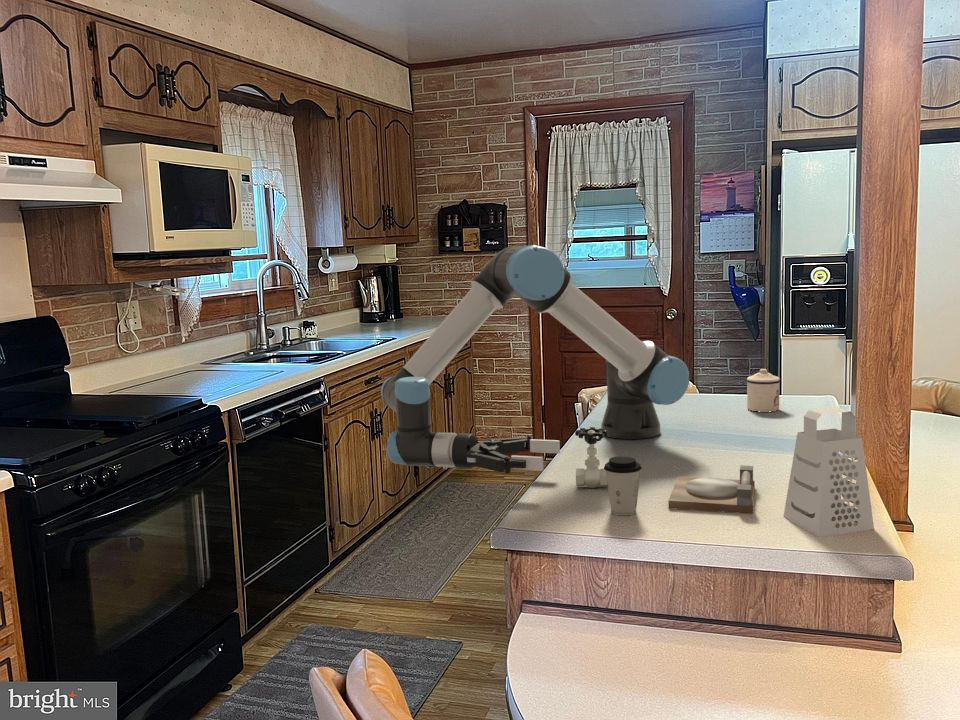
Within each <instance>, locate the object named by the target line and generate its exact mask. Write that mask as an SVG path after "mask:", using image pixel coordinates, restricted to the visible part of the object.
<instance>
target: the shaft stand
mask: <svg viewBox="0 0 960 720" xmlns="http://www.w3.org/2000/svg"><path fill="white" fill-rule="evenodd" d="M739 466H740V467H739V479H732V478H729V479H728V478H719V477H698V476H697V477H694V476H677V477H676V480H675V482H674V485H673V487H672V491H671V493H670V496H669V498H668V503H667V504H668V509H672V508H677V510H687V509H693V510H692V511H702V510H705V512H717V511H724V512H723V513H732V512H739V513H738V514H747V513H752V514H751V515H753V511H754V498H755V487H756V486H755V484H756V483H755V480H754V465H739ZM679 508H680V509H679Z"/></svg>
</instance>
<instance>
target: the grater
mask: <svg viewBox="0 0 960 720" xmlns="http://www.w3.org/2000/svg"><path fill="white" fill-rule="evenodd" d="M838 413H841V423H840V424H841V428H840V429H837V428H827V429H818V430H817V428H818V427H817V425H818V423H817V422H818V420H819V418H821V416H822V415H827V414H829V415H830V414H838ZM840 453H841V454H842V455H841V454H840ZM866 465H867V464H866V458H865V451H864V443H863V437H861V436H857V435H856V416H855V415H854V413H853V412H852V411H851V410H848V409H845V408H844V409H843V408H842V407H841V408H840V407H827V408H818V409H817V408H816V409H815V408H814V409H808V410H807V412H806V413H805V414H804V415H803V431H797V434H796V439H795V445H794V451H793V457H792V463H791V468H790V474H789V475H790V476H789V480H788V481H789V482H788V488H787V494H786V500H785V505H784V506H785V507H784V511H783V512H784V513H783V518H785V519H786V520H789V521H791V522H792V523H793V524H796V525H797V526H798V527H801V528H802V529H805V530H807V531H808V532H810V533H812V534H813V535H815V536H817V537H826V536H833V535H842V534H841V533H843V534H849V533H850V532H851V533H857V531H858V532H863V531H865V532H867V531H871V529H874V530H875V526H874V525H875V524H874V517H873V510H872V503H871V496H870V495H871V493H870V487H869V480H868V479H869V478H868V473H867V466H866ZM843 476H845V477H843ZM853 480H855V482H856V483H855V482H853ZM842 498H843V499H842ZM845 502H846V503H845ZM850 503H851V504H852V505H850ZM836 512H838V514H836ZM808 514H809V515H813V514H814V517H809V516H807V515H808ZM845 516H846V517H847V519H845ZM833 517H835V519H834V521H833V520H832V518H833ZM839 517H841V520H839V519H838V518H839ZM856 521H857V525H855V522H856ZM849 522H851V526H849V525H848V524H849ZM843 523H844V524H845V525H844V527H843V526H842V524H843ZM836 524H839V527H836ZM851 533H850V534H851Z"/></svg>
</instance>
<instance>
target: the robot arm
mask: <svg viewBox="0 0 960 720" xmlns="http://www.w3.org/2000/svg"><path fill="white" fill-rule="evenodd" d="M470 283H471V284H470V285H471V288H470V289H469V291H468V292H467V293H466V294H465V296H464V297H462V299H461V300H460V301H459V302H458V303H457V304H456V305H455V307H454V308H453V309H452V310H451V311H450V313H449V314H448V315H447V316H446V317H445V318H444V319H443V320H442V322H441V323H440V324H438V326H437V327H436V328H435V330H434V331H433V332H432V333H431V334H430V335H429V336H428V338H426V340H425V341H424V342H423V344H422V345H421V346H420V347H419V348H418V349H417V350H416V352H414V354H413V355H412V356H411V357H410V359H409V360H408V361H407V362H406V363H405V364H404V365H403V367H401V369H400V370H399V371H398V372H397V373H396V374H395V375H394V376H390V377H388V378H386V379H385V380H384V382H383V383H382V385H381V387H380V396H381V399H382V400H383V402H384V404H385V405H386V406H387V408H389V409H391V410H393V411H394V412H395V413H396V423H397V425H396V426H397V428H396V430H393V431H392V432H391V433H390V434H389V436H388V438H387V445H386V454H387V457H388V459H389V461H390V462H391V463H393V464H396V465H403V466H409V467H413V466H414V467H436V468H437V467H438V468H440V467H442V469H443V470H447V469H448V468H457V469H465V470H466V469H468V470H469V469H473V468H474V467H478V468H483V469H487V470H490V471H494V472H498V473H504V474H511V473H512V471H511V470H519V471H535V472H543V471H544V456H536V455H535V456H532V455H515V453H521V452H530V453H543V454H560V453H561V441H560V440H556V439H537V438H536V439H535V438H534V439H533V438H532V435H530V434H527V436H516V437H503V438H486V440H484V441H483V442H479V441H478V439H477V436H476V435H475V434H473V433H463V432H460V433H456V432H437V431H436V432H434V431H432V416H431V415H432V413H431V411H432V409H431V395H432V393H431V391H430V385H431V384H432V383H433V381H434V380H435V379H436V378H437V377H438V376H439V375H440V373H441V372H442V371H443V370H444V369H445V368H446V367H447V365H448V364H450V362H451V361H452V360H453V358H455V356H457V354H458V353H459V352H460V351H461V349H463V347H464V346H465V345H466V344H467V343H468V341H469V340H470V339H471V338H472V337H473V336H474V334H475V333H476V332H477V331H479V329H480V328H481V326H483V325H484V323H485V322H486V321H487V320H488V319H489V317H490V316H492V314H493V312H495V311H496V310H501V309H503V308H504V307H505V306H506V304H507V303H508V302H510V301H511V300H513V299H514V298H515V297H516V298H518V299H520V300H522V301H523V302H524V303H525V304H526V305H528V306H529V307H530V308H531V309H533V310H534V311H535V312H536V313H538V314H543V313H548V314H550V316H552V317H553V318H554V319H555V320H557V321H558V322H559V323H560V324H562V326H564V327H565V328H567V329H568V331H570V332H571V333H572V334H574V335H575V336H577V337H578V338H579V339H580V340H582V341H583V342H584V343H585V344H586V345H588V346H589V347H591V348H592V350H594V351H595V352H597V353H598V354H599V355H600V356H601V357H603V359H605V364H606V387H607V388H606V392H607V393H606V394H607V402H606V403H607V404H606V408H605V411H604V415H603V418H602V421H601V425H600V426H601V427H600V428H604V430H607V431H608V436H606V438H607V437H608V438H613V439H618V440H619V439H621V440H622V439H623V440H643V439H650V438H655V437H657V436H659V435H660V434H661V421H660V420H659V417H658V413H657V410H656V408H655V405H663V406H668V405H673V404H676V403H677V402H678V401H680V400H681V399H682V398H683V397H684V395H685V394H686V392H687V390H688V388H689V384H690V371H689V368H688V366H687V364H686V363H685V361H683V360H682V359H680V358H678V357H677V356H672V355H669V354H667V353H666V352H665V351H664V350H662V349H661V348H660V347H659V346H658V345H656V343H654V342H653V341H651V340H643V341H642V340H640V338H638V337H637V336H636V335H634V333H632V332H631V331H630V330H628V329H627V328H626V326H624V325H622V324H621V323H620V322H619V321H618V320H617V319H615V318H614V317H613V316H612V315H610V314H609V313H608V312H607V311H606V310H605V309H603V308H602V307H601V306H600V305H598V303H596V302H595V301H594V300H593V299H592V298H590V297H589V296H588V295H587V294H585V293H584V292H583V291H582V290H581V289H579V287H578V286H576V285H575V284H573V282H572V273H571V272H569V271H568V269H566V268H565V267H564V265H563V262H562V260H561V259H560V257H559V256H558V254H556V253H555V252H554V251H553V250H551V249H549V248H547V247H544V246H541V245H535V244H533V245H529V244H528V245H521V246H519V245H513V246H508V247H504V248H503V249H502V250H500V251H498V252H497V253H496V254H495V255H493V257H492V258H491V259H490V260H489V261H488V262H487V263H486V265H485V266H484V267H483V268H482V270H480V271H479V273H478V274H477V275H476V277H474V279H473V280H472V281H471V282H470ZM654 404H655V405H654ZM603 436H605V434H603ZM506 454H507V455H506ZM509 454H514V455H511V457H510V456H508V455H509Z"/></svg>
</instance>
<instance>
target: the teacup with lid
mask: <svg viewBox="0 0 960 720" xmlns="http://www.w3.org/2000/svg"><path fill="white" fill-rule="evenodd" d="M780 382H781V378H780V377H778V376H776V375H773V374H772V373H770V372H768V370H767V369H766V368H760V369H759V372H756V373H755V374H753V375H750V376H748V377H747V378H746V385H747V386H746V387H747V391H746V395H747V396H746V397H747V398H746V399H747V401H746V402H747V403H746V405H747V406H746V408H747V410H748V409H749V410H748V411H750V410H752V411H751V412H753V411H760V412H759V413H762V412H768V413H770V412H769V411H775V412H777V411H776V410H778V411H779V410H780Z"/></svg>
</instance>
